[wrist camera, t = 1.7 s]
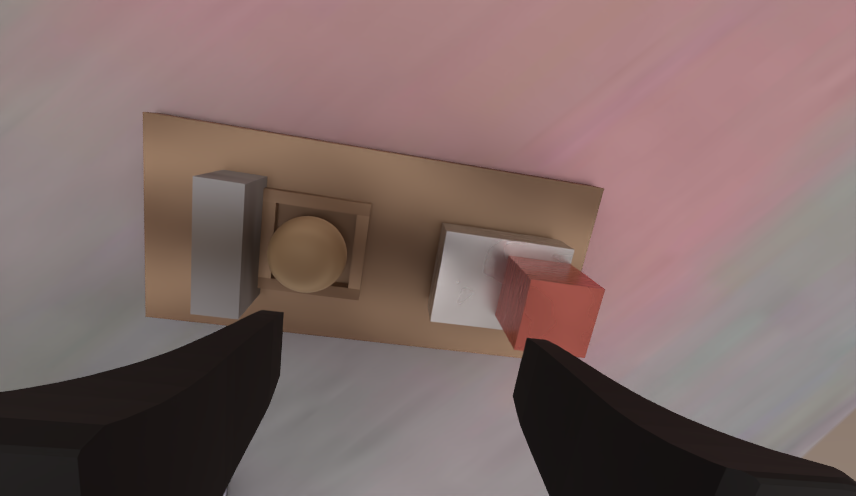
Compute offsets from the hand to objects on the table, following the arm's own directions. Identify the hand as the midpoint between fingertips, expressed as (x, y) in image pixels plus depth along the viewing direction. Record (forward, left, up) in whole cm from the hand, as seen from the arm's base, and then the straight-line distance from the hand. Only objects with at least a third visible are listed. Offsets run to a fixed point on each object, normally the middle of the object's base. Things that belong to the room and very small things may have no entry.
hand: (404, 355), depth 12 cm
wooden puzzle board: (0, +1, -11) cm, 11 cm away
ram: (0, -5, -8) cm, 10 cm away
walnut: (0, +4, -9) cm, 10 cm away
